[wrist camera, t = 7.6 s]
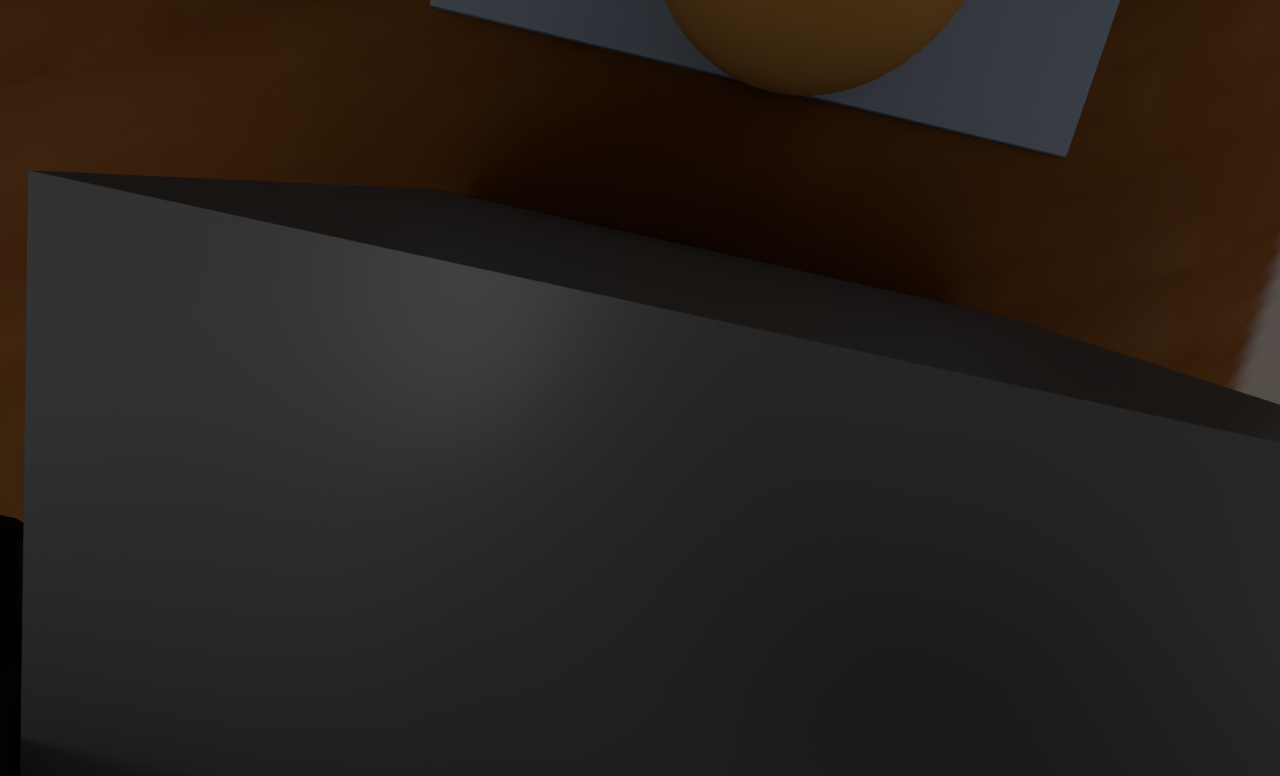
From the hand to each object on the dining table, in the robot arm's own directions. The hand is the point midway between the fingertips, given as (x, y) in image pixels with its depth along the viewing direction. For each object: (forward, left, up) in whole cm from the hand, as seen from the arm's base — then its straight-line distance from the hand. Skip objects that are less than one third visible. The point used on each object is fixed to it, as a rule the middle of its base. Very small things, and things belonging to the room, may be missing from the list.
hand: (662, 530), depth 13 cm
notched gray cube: (0, 0, -1) cm, 1 cm away
